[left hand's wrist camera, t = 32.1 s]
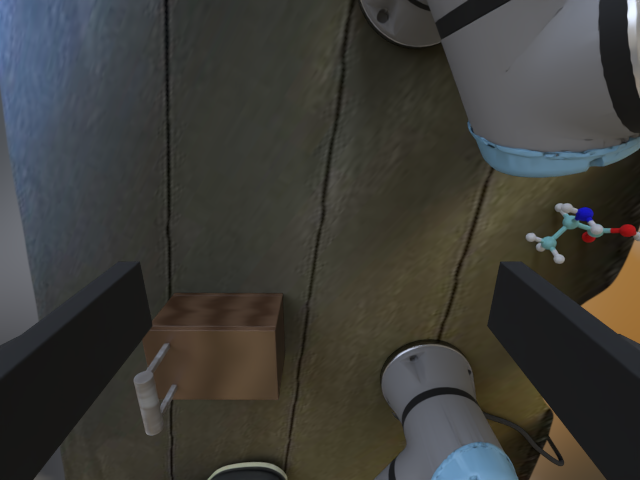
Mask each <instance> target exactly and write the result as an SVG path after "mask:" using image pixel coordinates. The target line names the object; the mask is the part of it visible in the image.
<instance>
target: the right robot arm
mask: <svg viewBox="0 0 640 480" xmlns="http://www.w3.org/2000/svg"><path fill="white" fill-rule="evenodd" d="M380 383H381V388H382V392H383V395H384V398H385V399H386V401H387V403H388V404H389V406H390V407H391V408H392V409H393V410H394V412H395V413H396V415H397V416H396V415H395V414H394V413H393V412H392V413H393V415H394V416H395V417H396V418H397V419H398V420H399V421H400V422H401V423H402V426H403V430H404V434H405V438H406V442H407V445H406V448H405V449H404V450H403V451H402V452H401V453H400V454H399V455H398V456H397V457H396V458H395V459H394V460H393V461H392V462H391V463H390V464H389V465H388V466H387V467H386V468H385V469H384V470H383V471H382V472H381V473H380V474H379V475H378V476H377V477H376V478H375V479H374V480H518V477H517V475H516V473H515V469H514V467H513V464H512V462H511V461H510V459H509V457H508V456H507V455H506V454H505V452H504V451H503V449H502V447H501V445H500V443H499V441H498V440H497V438H496V436H495V434H494V432H493V430H492V429H491V427H490V425H489V423H488V421H487V419H490V420H493V421H496V422H499V423H502V424H505V425H507V426H510V427H512V428H514V429H515V430H517V431H518V432H520V433H521V434H522V435H523V436H524V437H525V438H526V439H527V441H528V442H529V443H530V444H531V446H532V447H533V448H534V449H535V450H537V451H538V452H539V453H540V454H542V455H543V456H544V457H546V458H547V459H548V460H550V461H551V462H553V463H554V464H556V465H558V466H563V465H564V460H563V457H562V456H561V454H560V452H559V451H558V449H557V448H556V446H555V445H554V443H553V441H552V440H551V438H550V437H548V439H547V441H548V443H549V444H550V446H551V448H552V449H553V451H554V452H555V454H556V456H557V458H558V460H559V461H558V460H556V459H555V458H553V457H552V456H550V455H549V454H548V453H546V452H545V451H544V450H543V449H541V448H540V447H539V446H538V445H537V444H536V443H535V442H534V441H533V440H532V438H531V437H530V436H529V435H528V434H527V433H526V431H524V430H523V429H522V428H521V427H519V426H518V425H516V424H514V423H512V422H510V421H507V420H505V419H502V418H499V417H496V416H493V415H490V414H487V413H485V412H482V410H481V409H480V407H479V405H478V403H477V401H476V394H475V386H474V378H473V373H472V369H471V366H470V364H469V363H468V361H467V359H466V358H465V356H464V355H463V353H462V352H461V351H460V350H459V349H457V348H456V347H455V346H453V345H451V344H449V343H446V342H443V341H439V340H420V341H415V342H412V343H409V344H407V345H404V346H402V347H401V348H399V349H398V350H396V351H395V352H394V353H392V354H391V355H390V356H389V358H388V359H387V360H386V362H385V363H384V365H383V367H382V370H381V375H380ZM486 418H487V419H486Z"/></svg>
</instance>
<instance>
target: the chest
mask: <svg viewBox="0 0 640 480" xmlns="http://www.w3.org/2000/svg"><path fill="white" fill-rule="evenodd" d="M152 325H153V326H191V327H276V340H277V361H278V381H279V393H280V386H281V379H282V372H283V365H284V358H285V339H284V313H283V293H174V295H173V296H172V297H171V298H170V299H169V301H168V302H167V303H166V304H165V306H164V307H163V308H162V309H161V311H160V312H159V313H158V314H157V316H156V317H155V318H154V319H153V321H152Z"/></svg>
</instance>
